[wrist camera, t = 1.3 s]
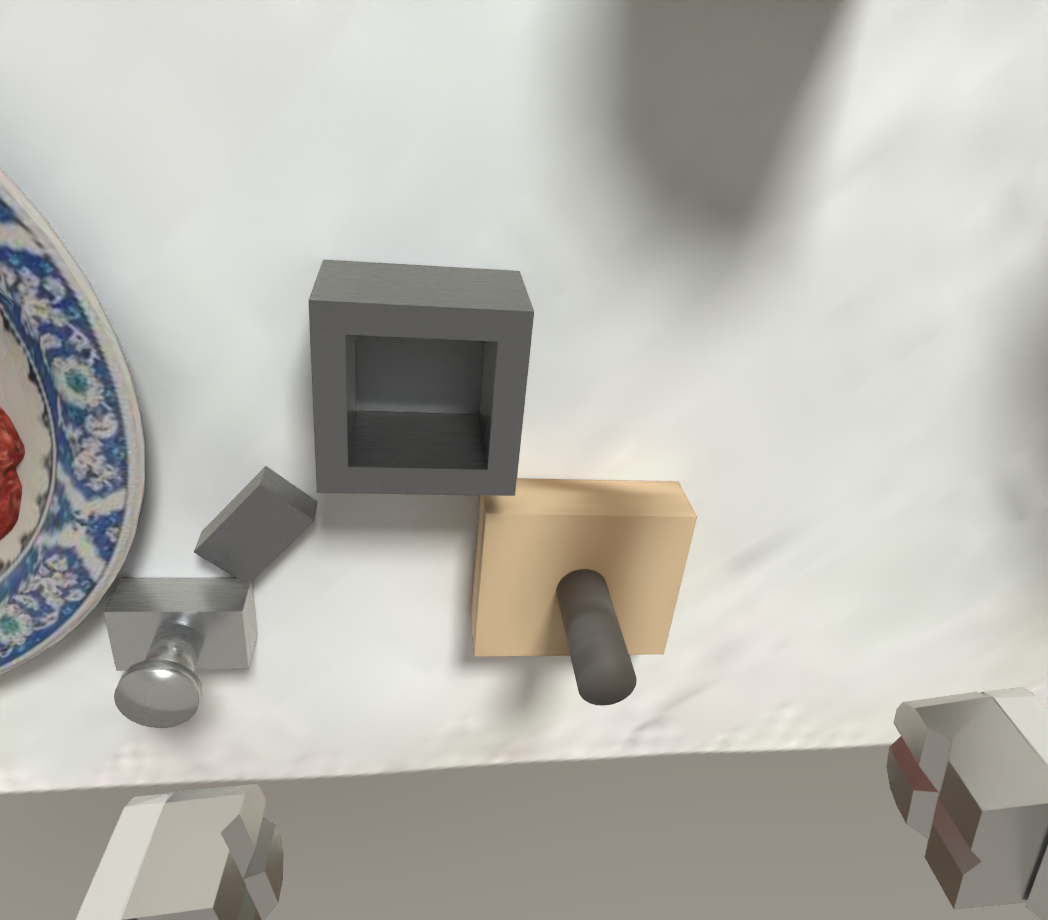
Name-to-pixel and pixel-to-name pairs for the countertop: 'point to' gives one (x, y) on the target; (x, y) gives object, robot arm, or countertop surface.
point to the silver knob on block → (176, 641)
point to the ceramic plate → (58, 438)
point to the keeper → (581, 575)
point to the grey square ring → (404, 437)
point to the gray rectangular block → (256, 526)
